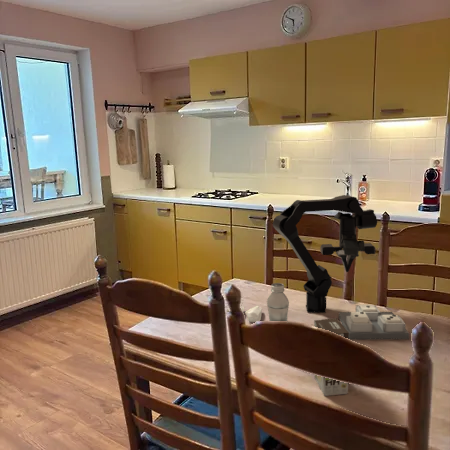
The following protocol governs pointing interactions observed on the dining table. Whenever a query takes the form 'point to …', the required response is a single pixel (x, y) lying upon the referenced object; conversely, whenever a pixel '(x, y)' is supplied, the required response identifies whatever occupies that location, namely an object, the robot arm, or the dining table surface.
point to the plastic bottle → (277, 303)
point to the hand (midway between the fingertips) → (347, 271)
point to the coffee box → (328, 384)
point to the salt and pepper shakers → (252, 313)
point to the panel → (373, 326)
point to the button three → (391, 319)
